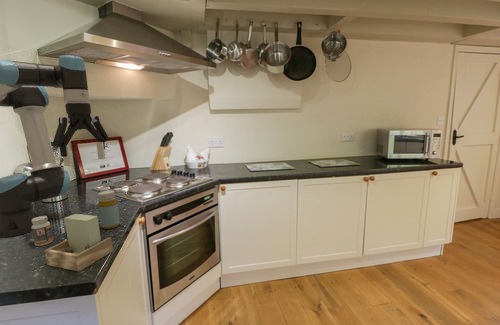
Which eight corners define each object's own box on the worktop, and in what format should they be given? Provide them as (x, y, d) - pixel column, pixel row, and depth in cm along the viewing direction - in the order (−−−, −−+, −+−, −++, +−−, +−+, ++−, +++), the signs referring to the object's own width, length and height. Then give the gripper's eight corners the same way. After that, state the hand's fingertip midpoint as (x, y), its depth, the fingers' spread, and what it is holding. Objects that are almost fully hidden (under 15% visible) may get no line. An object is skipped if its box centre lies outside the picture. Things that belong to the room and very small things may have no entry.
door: (67, 252, 92) (61, 218, 90) (80, 246, 96) (75, 213, 94) (90, 256, 89) (84, 221, 87) (102, 249, 93) (97, 216, 91)
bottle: (122, 222, 120) (118, 189, 118) (115, 229, 114) (110, 194, 111) (106, 223, 120) (102, 190, 118) (98, 230, 113) (93, 195, 111)
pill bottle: (53, 243, 103) (48, 218, 101) (34, 248, 100) (29, 222, 98) (53, 238, 107) (49, 214, 106) (35, 242, 104) (30, 217, 102)
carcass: (47, 264, 88) (44, 250, 87) (83, 246, 100) (81, 233, 99) (79, 271, 83) (76, 256, 82) (113, 250, 95) (111, 237, 94)
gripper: (48, 101, 83) (59, 169, 87) (114, 102, 106) (120, 156, 110) (32, 102, 86) (43, 168, 90) (100, 103, 109) (106, 156, 113)
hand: (86, 162), depth 100 cm, fingers open, 13 cm apart
